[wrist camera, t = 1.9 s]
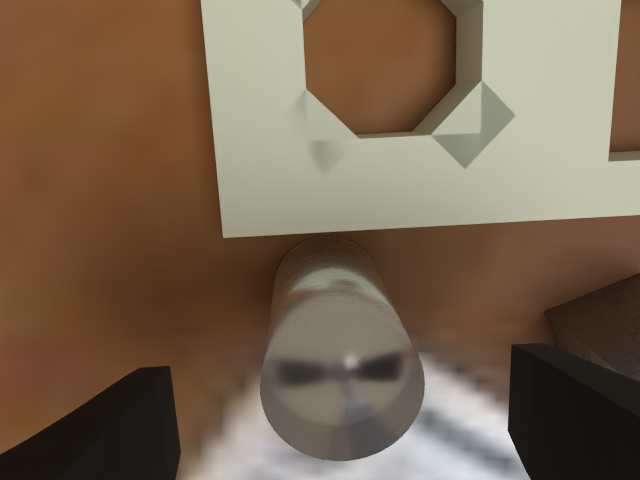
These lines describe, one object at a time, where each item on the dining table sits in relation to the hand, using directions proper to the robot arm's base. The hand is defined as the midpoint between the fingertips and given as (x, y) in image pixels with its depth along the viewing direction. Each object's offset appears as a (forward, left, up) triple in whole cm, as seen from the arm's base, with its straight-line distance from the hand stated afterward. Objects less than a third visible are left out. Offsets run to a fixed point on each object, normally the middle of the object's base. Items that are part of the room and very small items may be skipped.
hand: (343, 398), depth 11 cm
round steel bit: (0, 0, -8) cm, 8 cm away
